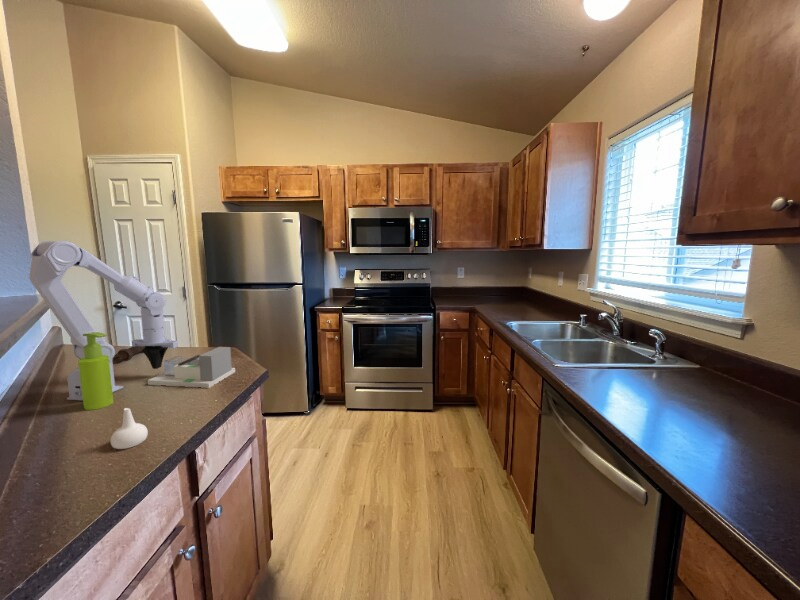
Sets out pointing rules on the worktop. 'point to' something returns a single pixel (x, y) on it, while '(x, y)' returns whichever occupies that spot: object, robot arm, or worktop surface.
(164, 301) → the robot arm
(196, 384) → the architectural block model
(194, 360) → the grey block with bar
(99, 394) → the soap dispenser
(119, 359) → the bolt
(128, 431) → the garlic bulb
